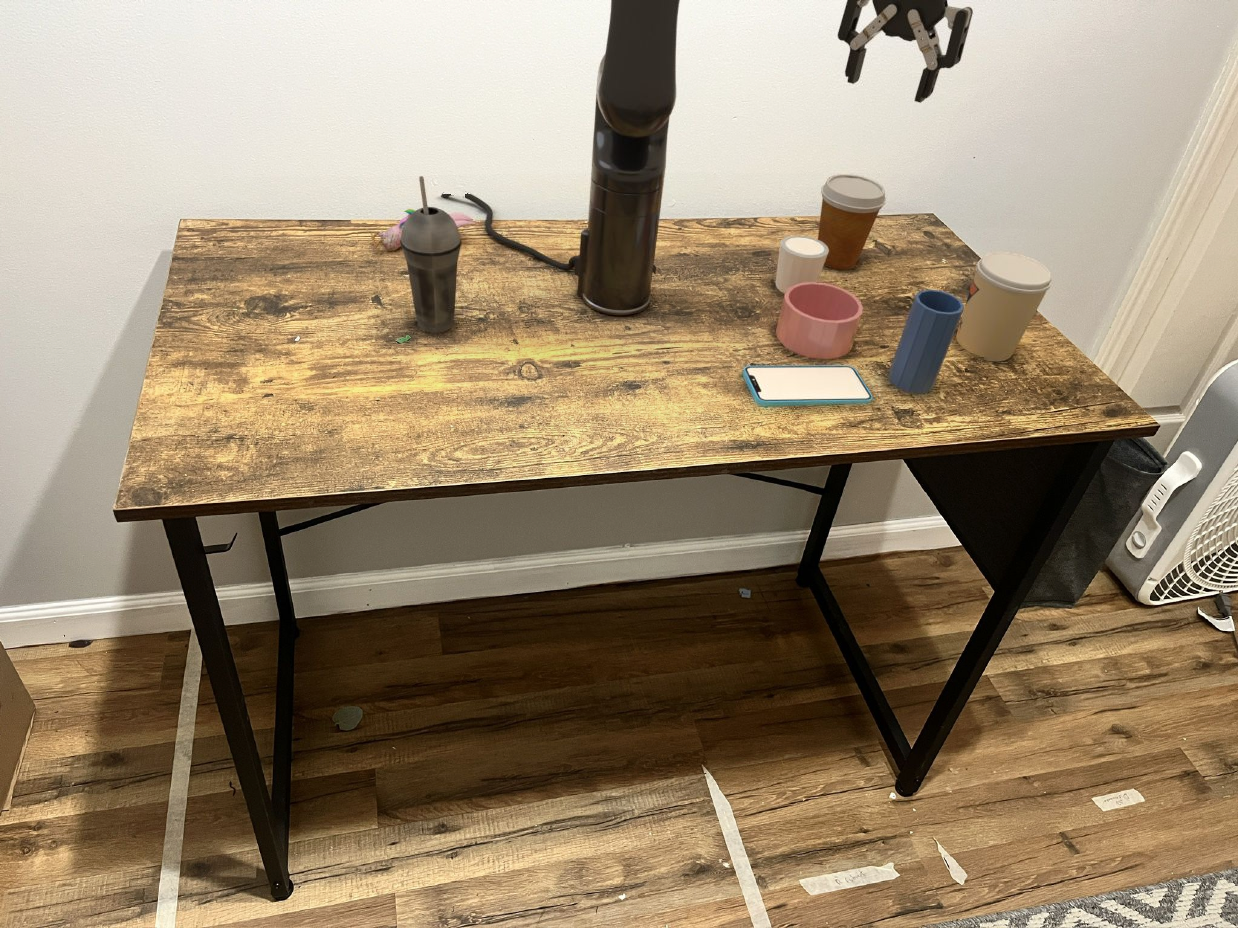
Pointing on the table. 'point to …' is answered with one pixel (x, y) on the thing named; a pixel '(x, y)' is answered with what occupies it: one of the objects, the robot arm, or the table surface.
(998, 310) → the coffee cup
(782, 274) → the white cylinder
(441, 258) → the beverage cup
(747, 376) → the smartphone
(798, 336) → the pink cup
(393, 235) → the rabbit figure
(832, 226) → the disposable coffee cup
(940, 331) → the blue cup
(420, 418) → the table surface
